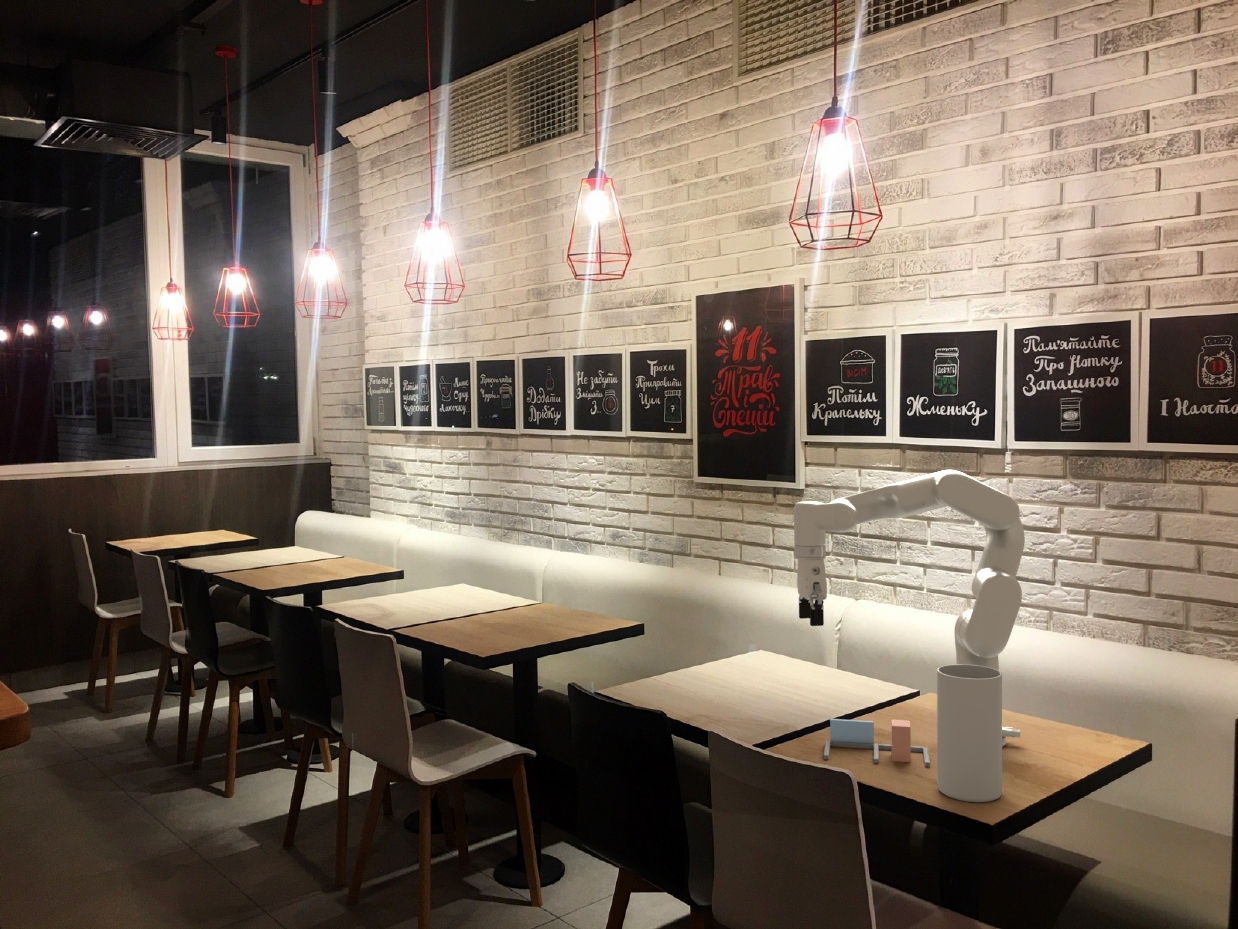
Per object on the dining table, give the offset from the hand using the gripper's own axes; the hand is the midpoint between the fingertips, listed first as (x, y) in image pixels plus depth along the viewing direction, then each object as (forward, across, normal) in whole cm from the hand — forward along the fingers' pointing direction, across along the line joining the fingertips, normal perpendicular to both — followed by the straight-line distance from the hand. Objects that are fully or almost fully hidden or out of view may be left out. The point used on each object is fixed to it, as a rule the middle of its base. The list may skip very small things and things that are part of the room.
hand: (811, 621), depth 237 cm
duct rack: (+28, -16, -10) cm, 34 cm away
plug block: (+28, -18, -15) cm, 37 cm away
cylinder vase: (+29, -41, -21) cm, 54 cm away
